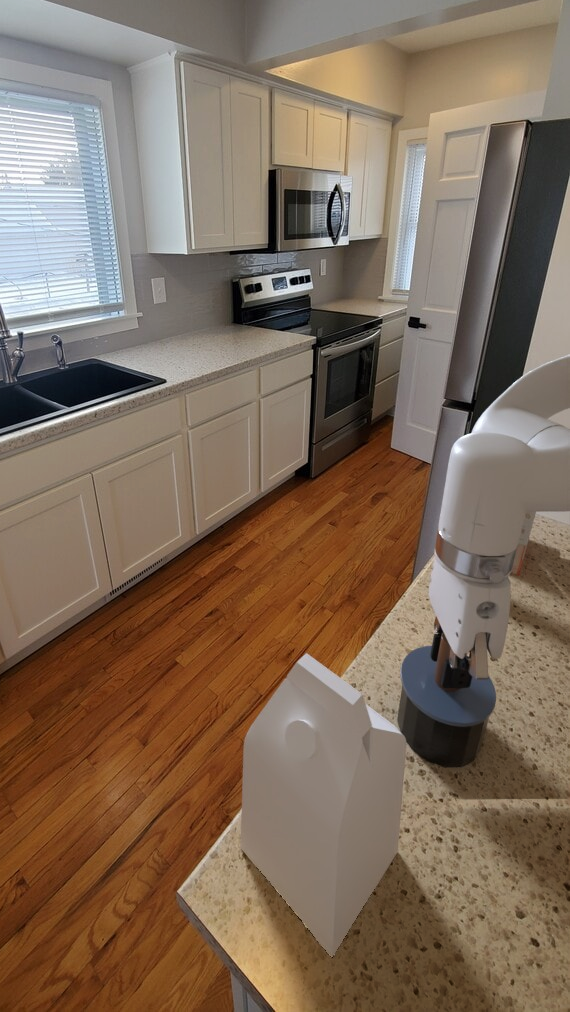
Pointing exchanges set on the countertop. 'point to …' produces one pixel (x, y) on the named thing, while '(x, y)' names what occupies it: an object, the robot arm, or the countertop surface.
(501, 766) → the countertop surface
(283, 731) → the milk
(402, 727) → the tin
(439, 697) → the plate lid
